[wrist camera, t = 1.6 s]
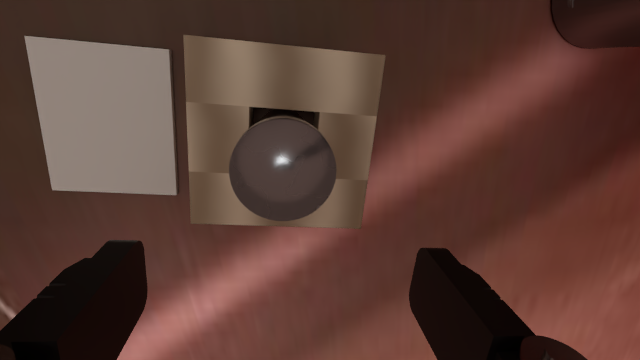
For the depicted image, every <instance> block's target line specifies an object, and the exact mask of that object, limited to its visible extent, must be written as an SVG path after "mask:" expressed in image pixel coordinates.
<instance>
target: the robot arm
mask: <svg viewBox="0 0 640 360" xmlns="http://www.w3.org/2000/svg"><path fill="white" fill-rule="evenodd" d="M552 13H553V18H554V22H555V24H556V26H557V29H558V31H559V32H560V33H561V35H562V36H563V37H564V39H566V40H567V41H568V42H570V43H571V44H573V45H575V46H578V47H581V48H590V49H591V48H614V47H640V0H552ZM146 299H147V278H146V267H145V255H144V247H143V244H142V242H141V241H134V240H109V241H108V242H106V243H105V244H104V246H103V247H102V248H101V249H100V250H99V251H98V252H97V253H96V254H95V255H94V256H93V257H92V258H84V259H82V260H81V261H79V262H77V263H75V264H73V265H71V266H70V267H68V268H66V269H64V270H63V271H62V272H61V273H60V274H59V275H58V276H57V277H56V278H55V279H54V280H53V281H52V282H51V283H50V285H49V286H46V287H45V288H44V289H43V290H42V291H41V292H40V293H39V294H38V295H37V298H36V299H33V300H32V301H31V302H30V303H29V304H28V305H27V306H26V307H25V308H24V309H23V310H21V311H20V312H19V313H18V314H17V315H16V316H15V317H14V318H13V319H12V320H11V321H10V322H9V323H8V324H7V325H6V326H5V327H4V328H3V329H2V330H1V331H0V360H117V358H118V356H119V354H120V352H121V351H122V349H123V347H124V345H125V343H126V341H127V340H128V338H129V336H130V334H131V332H132V331H133V329H134V327H135V325H136V323H137V321H138V320H139V318H140V316H141V314H142V312H143V310H144V307H145V304H146ZM409 301H410V307H411V310H412V312H413V314H414V316H415V318H416V320H417V322H418V324H419V326H420V328H421V329H422V331H423V333H424V335H425V337H426V339H427V341H428V343H429V344H430V346H431V348H432V350H433V352H434V354H435V356H436V358H437V360H587V359H586V358H585V357H584V356H582V355H581V354H580V353H579V352H577V351H576V350H574V349H573V348H571V347H569V346H568V345H566V344H564V343H562V342H559V341H557V340H554V339H551V338H548V337H544V336H536V335H535V334H534V333H533V332H532V331H531V330H530V328H529V327H528V326H527V325H526V324H525V323H524V322H523V321H522V320H521V319H520V318H519V317H518V316H517V315H516V314H515V312H514V311H513V310H512V309H511V308H510V307H509V306H508V305H507V304H506V303H505V302H504V301H503V300H501V299H500V296H499V295H498V294H497V293H496V292H495V291H494V290H491V287H490V286H489V285H488V284H487V283H486V282H485V280H484V279H483V278H482V277H481V276H480V275H478V274H477V273H475V272H474V271H472V270H471V269H469V268H468V267H466V266H465V265H461V264H460V263H459V261H458V260H457V259H456V258H455V257H454V256H453V255H452V254H451V253H450V251H449V250H448V249H445V248H421V249H420V250H419V251H418V253H417V257H416V262H415V267H414V271H413V276H412V281H411V286H410V291H409Z"/></svg>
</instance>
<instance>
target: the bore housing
mask: <svg viewBox="0 0 640 360" xmlns="http://www.w3.org/2000/svg"><path fill="white" fill-rule="evenodd" d="M385 56H386V55H378V54H368V53H358V52H348V51H338V50H328V49H318V48H309V47H299V46H289V45H279V44H269V43H259V42H249V41H240V40H230V39H220V38H210V37H200V36H190V35H184V60H185V86H186V112H187V138H188V163H189V189H190V215H191V224H222V225H255V226H288V227H321V228H354V229H361V223H362V216H363V209H364V202H365V195H366V188H367V181H368V174H369V167H370V160H371V153H372V146H373V139H374V132H375V125H376V118H377V111H378V105H379V98H380V91H381V84H382V77H383V70H384V63H385ZM253 107H260V108H274V109H287V110H300V111H313V112H314V122H313V126H314V127H315V128H316V129H318V130H319V131H320V132H321V133H322V135H323V136H324V137H325V139H326V140H327V142H328V144H329V145H330V147H331V149H332V151H333V154H334V157H335V161H336V169H337V170H336V180H335V184H334V187H333V190H332V192H331V194H330V195H329V197H328V199H327V200H326V201H325V202H324V204H323V205H322V206H321V207H319V208H318V209H317V210H316V211H314V212H313V213H311V214H309V215H308V216H305V217H303V218H300V219H297V220H292V221H274V220H269V219H266V218H263V217H260V216H258V215H256V214H254V213H253V212H251V211H250V210H248V209H247V208H246V207H245V206H244V205H243V204H242V203H241V202H240V201H239V199H238V198H237V196H236V195H235V193H234V191H233V188H232V186H231V182H230V178H229V163H230V158H231V155H232V152H233V150H234V148H235V146H236V144H237V142H238V141H239V139H240V138H241V136H242V135H243V134H244V133H245V132H246V131H247V130H248V129H249V128H250V127H251V126H253Z"/></svg>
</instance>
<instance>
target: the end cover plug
mask: <svg viewBox="0 0 640 360" xmlns="http://www.w3.org/2000/svg"><path fill="white" fill-rule="evenodd" d="M336 170H337V169H336V161H335V157H334V154H333V151H332V149H331V147H330V145H329V144H328V142H327V140H326V139H325V137H324V136H323V135H322V133H321V132H320V131H319V130H318V129H316V128H315V127H314V126H313V125H311V124H309V123H308V122H306V121H304V119H303V118H302V116H301V115H300V114H298V113H297V112H295V111H294V110H287V109H273V110H271V111H269V112H268V113H266V114H265V115H264V116H263V117H262V119H261V121H259V122H257V123H256V124H254V125H253V126H251V127H250V128H249V129H248V130H247V131H246V132H245V133H244V134H243V135H242V136H241V138H240V139H239V141H238V142H237V144H236V146H235V148H234V150H233V152H232V155H231V158H230V163H229V178H230V182H231V186H232V188H233V191H234V193H235V195H236V196H237V198H238V199H239V201H240V202H241V203H242V204H243V205H244V206H245V207H246V208H247V209H248V210H250V211H251V212H253V213H254V214H256V215H258V216H260V217H263V218H266V219H269V220H274V221H292V220H297V219H300V218H303V217H305V216H308V215H309V214H311V213H313V212H314V211H316V210H317V209H318V208H319V207H321V206H322V205H323V204H324V202H325V201H326V200H327V199H328V197H329V195H330V194H331V192H332V190H333V187H334V184H335V180H336Z"/></svg>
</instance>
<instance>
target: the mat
mask: <svg viewBox="0 0 640 360" xmlns="http://www.w3.org/2000/svg"><path fill="white" fill-rule="evenodd" d="M25 42H26V47H27V53H28V59H29V64H30V70H31V75H32V81H33V86H34V92H35V97H36V103H37V108H38V114H39V120H40V125H41V131H42V136H43V142H44V147H45V153H46V158H47V164H48V169H49V175H50V181H51V186H52V190H63V191H88V192H112V193H136V194H161V195H177V194H178V193H179V191H178V171H177V152H176V132H175V112H174V92H173V72H172V52H171V50H168V49H157V48H147V47H136V46H126V45H115V44H105V43H94V42H84V41H73V40H63V39H52V38H42V37H31V36H25Z"/></svg>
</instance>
